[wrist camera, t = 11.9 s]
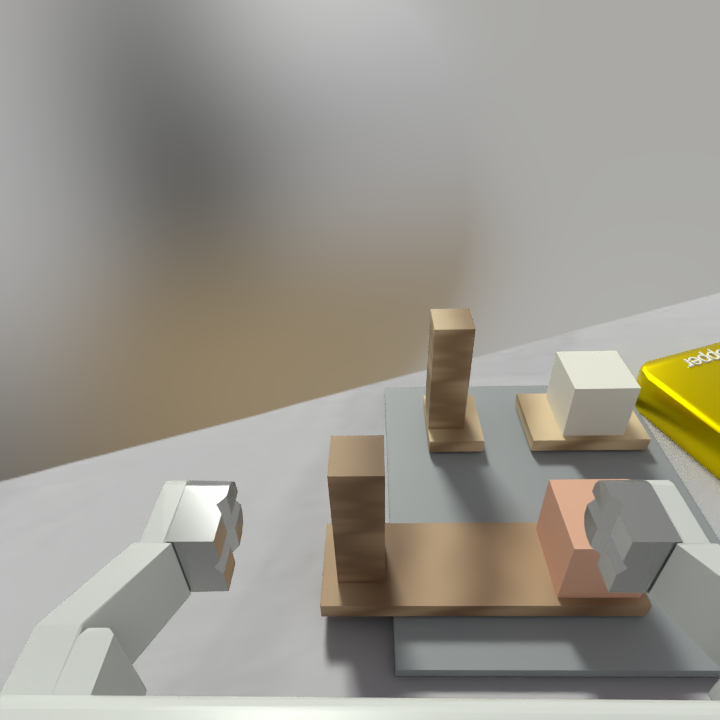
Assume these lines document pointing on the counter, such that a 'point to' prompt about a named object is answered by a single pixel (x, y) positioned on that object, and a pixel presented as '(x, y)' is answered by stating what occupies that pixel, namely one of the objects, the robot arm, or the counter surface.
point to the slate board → (516, 505)
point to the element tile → (685, 401)
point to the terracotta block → (571, 541)
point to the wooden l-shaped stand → (432, 556)
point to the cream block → (591, 393)
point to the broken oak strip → (458, 410)
